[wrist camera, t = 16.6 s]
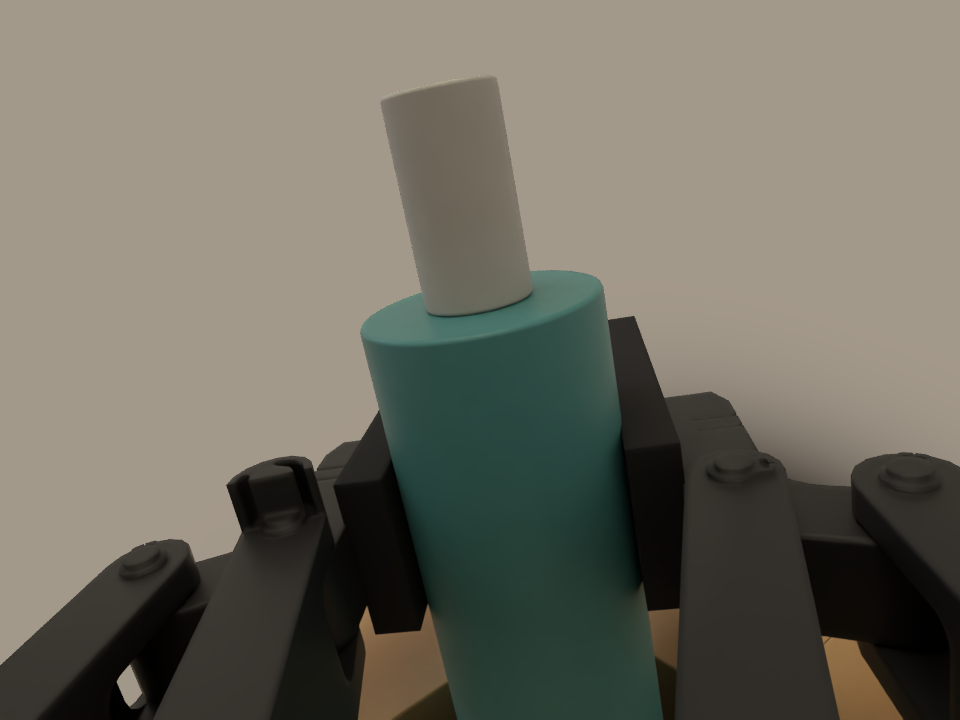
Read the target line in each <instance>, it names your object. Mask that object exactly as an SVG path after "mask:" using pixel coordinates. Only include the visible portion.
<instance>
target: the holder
mask: <svg viewBox="0 0 960 720" xmlns="http://www.w3.org/2000/svg"><path fill="white" fill-rule="evenodd" d="M648 613H649V620H650V627H651V634H652V641H653V649H654V656H655V663H656V670H657V677H658V685H659V692H660V699H661V706H662V713H663V720H675V698H676V675H677V653H678V630H679V609H669V610H657V611H648ZM359 626H360V630H361V633H362V637H363V640H364V644H365V650H366V657H365V665H364V673H363V681H362V690H361V698H360V706H359V715H358V720H457V716H456V712H455V708H454V704H453V700H452V696H451V692H450V689H449V685H448V681H447V677H446V673H445V669H444V665H443V661H442V657H441V653H440V649H439V645H438V641H437V637H436V633H435V629H434V625H433V621H432V617H431V613H430V609H429V605H427V609H426V613H425V616H424V620H423V624H422V628H421V631H413V632H402V633H390V634H378V635H375V632H374V628H373V625H372V621H371V618H370V614H369V611H368V607H366V609H365V612H364V615H363V617H362V620H361V622H360V625H359ZM822 639H823V644H824V648H825V653H826V658H827V662H828V667H829V671H830V676H831V681H832V685H833V690H834V694H835V699H836V704H837V708H838V713H839V717H840V720H903V718H902V717H901V715H900V714H899V712H898V711H897V709H896V708H895V706H894V704H893V703H892V701H891V700H890V698H889V697H888V695H887V694H886V692H885V691H884V689H883V687H882V686H881V684H880V683H879V681H878V680H877V678H876V677H875V675H874V674H873V672H872V671H871V669H870V667H869V666H868V664H867V663H866V661H865V660H864V658H863V657H862V655H861V653H860V650H859V647H858V644H857V641H853V640H846V639H839V638H833V637H826V636H822Z"/></svg>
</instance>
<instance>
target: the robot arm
mask: <svg viewBox="0 0 960 720" xmlns="http://www.w3.org/2000/svg"><path fill="white" fill-rule="evenodd" d="M608 325H609V332H610V339H611V347H612V354H613V361H614V368H615V375H616V383H617V390H618V397H619V404H620V411H621V418H622V426H621V433H622V440H623V447H624V454H625V461H626V468H627V475H628V482H629V489H630V496H631V503H632V511H633V518H634V525H635V532H636V539H637V546H638V553H639V560H640V567H641V574H642V581H643V587H644V593H645V598H646V604H647V610H648V611H657V610H669V609H679V630H678V653H677V675H676V698H675V720H840V717H839V713H838V708H837V704H836V699H835V694H834V690H833V685H832V681H831V676H830V671H829V667H828V662H827V658H826V653H825V648H824V644H823V639H822V636H826V637H833V638H839V639H846V640H853V641H857V644H858V647H859V650H860V653H861V655H862V657H863V658H864V660H865V661H866V663H867V664H868V666H869V667H870V669H871V671H872V672H873V674H874V675H875V677H876V678H877V680H878V681H879V683H880V684H881V686H882V687H883V689H884V691H885V692H886V694H887V695H888V697H889V698H890V700H891V701H892V703H893V704H894V706H895V708H896V709H897V711H898V712H899V714H900V715H901V717H902V718H903V720H960V467H959V466H957V465H955V464H953V463H951V462H949V461H945V460H942V459H938V458H935V457H931V456H929V455H926V454H919V453H916V454H913V453H905V452H904V453H903V452H902V453H898V454H886V455H881V456H877V457H873V458H869V459H866V460H864V461H863V462H861V463H860V464H858V465H856V466H855V467H854V469H853V472H852V474H851V487H846V486H828V485H816V484H807V483H803V482H798V481H794V480H791V479H788V478H787V474H786V469H785V468H784V466H783V465H782V463H781V462H780V461H779V460H778V459H776V458H774V457H772V456H770V455H769V454H766V453H761V452H759V451H758V450H757V448H756V446H755V445H754V443H753V441H752V439H751V438H750V436H749V434H748V433H747V431H746V429H745V428H744V426H742V422H741V421H740V419H739V417H738V416H737V415H736V412H735V410H734V409H733V407H732V405H731V404H730V402H729V401H728V400H726V399H724V398H722V397H720V396H718V395H717V394H714V393H713V392H705V393H698V394H691V395H683V396H675V397H668V398H664V397H663V394H662V391H661V388H660V385H659V383H658V380H657V377H656V374H655V372H654V369H653V366H652V363H651V361H650V358H649V355H648V352H647V350H646V347H645V344H644V342H643V339H642V336H641V333H640V330H639V328H638V325H637V322H636V319H635V317H634V316H631V317H625V318H618V319H611V320H608ZM226 486H227V489H228V492H229V494H230V498H231V500H232V504H233V506H234V509H235V512H236V515H237V518H238V521H239V524H240V527H241V530H242V533H241V535H240V538H239V540H238V542H237V544H236V546H235V548H234V550H233V552H230V553H227V554H224V555H220V556H217V557H213V558H210V559H206V560H203V561H199V562H196V563H195V560H194V557H193V555H192V552H191V549H190V546H189V544H188V543H186V542H184V541H182V540H173V539H168V540H163V541H158V542H157V541H153V542H149V543H146V545H145V546H144V544H143V545H140V546H138V547H135V548H134V549H132V551H131V552H129V553H127V554H125V555H123V556H121V557H120V558H118V559H117V560H116V561H114V562H113V563H112V564H110V565H109V566H108V567H106V568H105V569H104V570H103V571H102V572H101V573H100V574H99V575H98V576H97V577H96V578H95V579H93V580H92V581H91V582H90V583H89V584H88V585H87V586H86V587H85V588H84V589H83V590H81V591H80V592H79V593H78V594H77V595H76V596H75V597H74V598H73V599H72V600H71V601H70V602H69V603H68V604H66V605H65V606H64V607H63V608H62V609H61V610H60V611H59V612H58V613H57V614H56V615H54V616H53V617H52V618H51V619H50V620H49V621H48V622H47V623H46V624H45V625H44V626H43V627H41V628H40V629H39V630H38V631H37V632H36V633H35V634H34V635H33V636H32V637H31V638H30V639H29V640H27V641H26V642H25V643H24V644H23V645H22V646H21V647H20V648H19V649H18V650H17V651H16V652H14V653H13V654H12V656H10V657H9V658H8V659H7V660H6V661H5V662H4V663H3V664H1V665H0V720H358V715H359V706H360V698H361V690H362V681H363V673H364V665H365V657H366V650H365V644H364V640H363V637H362V633H361V630H360V626H359V625H360V622H361V620H362V617H363V615H364V612H365V609H366V607H368V611H369V614H370V618H371V621H372V625H373V628H374V632H375V635H378V634H390V633H402V632H413V631H421V628H422V624H423V620H424V616H425V613H426V609H427V605H428V601H427V597H426V593H425V589H424V585H423V581H422V577H421V573H420V569H419V565H418V561H417V557H416V553H415V549H414V545H413V541H412V537H411V533H410V529H409V525H408V521H407V517H406V513H405V510H404V506H403V502H402V498H401V494H400V490H399V486H398V482H397V478H396V474H395V470H394V466H393V462H392V458H391V454H390V450H389V446H388V442H387V438H386V434H385V430H384V426H383V422H382V418H381V414H380V410H379V411H378V413H377V415H376V416H375V418H374V420H373V421H372V423H371V424H370V426H369V428H368V429H367V431H366V433H365V434H364V436H363V437H362V439H361V440H360V441H352V442H345V443H343V444H341V445H340V446H338V447H337V448H336V449H335V450H333V451H332V452H330V453H329V454H327V455H326V456H325V458H324V459H323V461H322V462H321V464H320V465H319V466H318V468H317V471H315V472H314V469H313V465H312V462H311V461H310V460H309V459H307V458H305V457H298V456H289V457H281V458H275V459H272V460H268V461H265V462H261V463H259V464H257V465H254V466H252V467H250V468H247V469H246V470H244V471H242V472H241V473H239V474H238V475H236V476H235V477H233V478H232V480H231V481H230V482H229V483H228V484H227V485H226ZM129 664H130V665H131V667H132V670H133V672H134V674H135V677H136V679H137V682H138V684H139V686H140V688H141V691H142V694H141V696H140V697H139V698H138V699H137V701H136V702H135V703H134V704H133V705H131V706H130V707H129V706H128V705H127V704H126V702H125V701H124V698H123V696H122V694H121V691H120V689H119V686H118V684H117V680H118V678H119V676H120V675H121V674H122V672H123V671H124V670H125V669H126V668H127V667H128V666H129Z"/></svg>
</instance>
